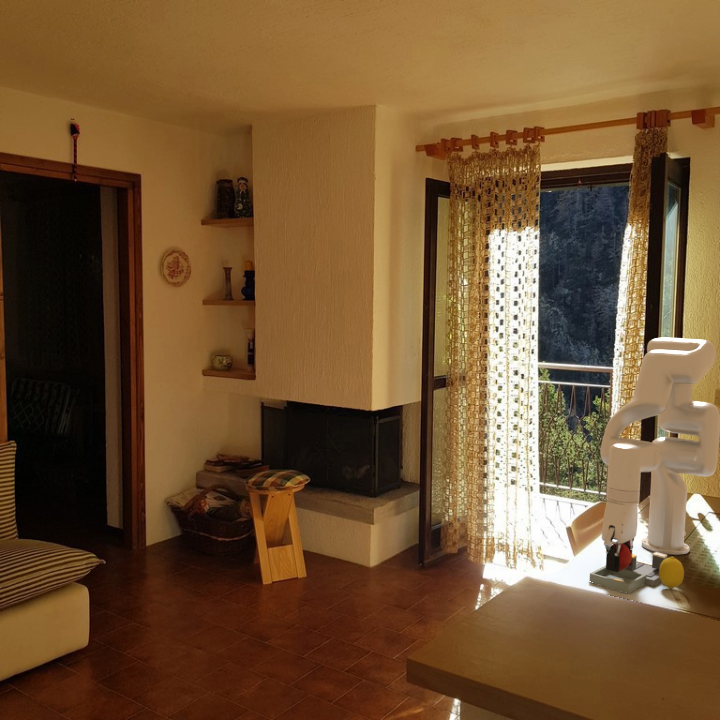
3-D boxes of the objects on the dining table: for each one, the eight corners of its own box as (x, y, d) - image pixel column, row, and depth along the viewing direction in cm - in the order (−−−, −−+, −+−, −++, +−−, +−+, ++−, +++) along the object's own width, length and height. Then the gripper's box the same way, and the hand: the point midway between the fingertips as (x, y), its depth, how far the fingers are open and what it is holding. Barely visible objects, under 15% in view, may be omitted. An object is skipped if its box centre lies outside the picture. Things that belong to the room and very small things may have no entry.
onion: (627, 577, 179) (629, 544, 178) (603, 572, 182) (605, 540, 181) (633, 570, 184) (634, 538, 183) (609, 565, 187) (610, 534, 186)
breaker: (655, 565, 190) (655, 552, 190) (666, 568, 188) (667, 554, 188) (651, 567, 189) (652, 553, 188) (663, 570, 187) (663, 556, 186)
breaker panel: (636, 566, 195) (636, 559, 195) (671, 575, 189) (671, 569, 189) (617, 576, 187) (618, 569, 187) (653, 586, 181) (653, 579, 181)
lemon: (685, 594, 177) (687, 561, 176) (660, 592, 178) (662, 559, 177) (680, 586, 182) (682, 554, 182) (656, 583, 183) (658, 551, 183)
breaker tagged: (625, 566, 189) (625, 552, 188) (635, 569, 187) (636, 555, 186) (621, 568, 187) (622, 554, 187) (632, 571, 185) (633, 557, 185)
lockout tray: (607, 572, 190) (608, 564, 190) (645, 583, 183) (646, 574, 183) (589, 582, 183) (589, 573, 183) (628, 593, 176) (629, 584, 176)
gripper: (623, 486, 190) (619, 555, 191) (591, 497, 178) (587, 571, 179) (652, 492, 185) (648, 563, 186) (622, 504, 173) (617, 580, 174)
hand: (618, 566), depth 183 cm, fingers closed on onion, 5 cm apart
